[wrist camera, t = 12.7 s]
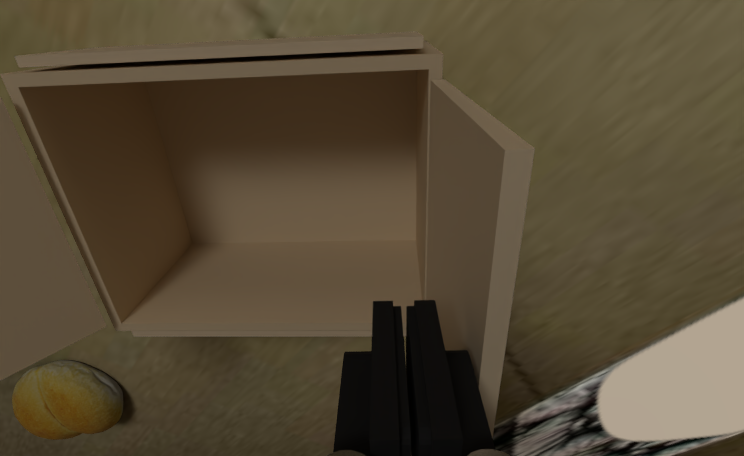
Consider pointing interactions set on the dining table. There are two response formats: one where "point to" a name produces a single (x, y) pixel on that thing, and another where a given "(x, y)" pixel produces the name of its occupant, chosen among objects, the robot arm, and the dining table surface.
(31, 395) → the bread roll
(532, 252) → the dining table surface
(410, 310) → the robot arm
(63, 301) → the flap
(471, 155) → the flap
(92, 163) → the carton
